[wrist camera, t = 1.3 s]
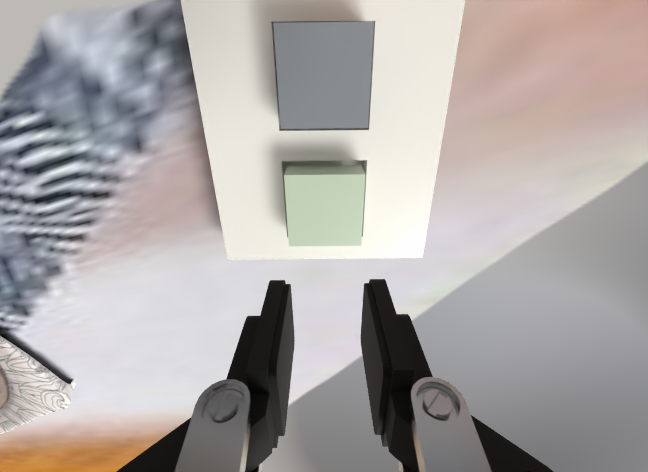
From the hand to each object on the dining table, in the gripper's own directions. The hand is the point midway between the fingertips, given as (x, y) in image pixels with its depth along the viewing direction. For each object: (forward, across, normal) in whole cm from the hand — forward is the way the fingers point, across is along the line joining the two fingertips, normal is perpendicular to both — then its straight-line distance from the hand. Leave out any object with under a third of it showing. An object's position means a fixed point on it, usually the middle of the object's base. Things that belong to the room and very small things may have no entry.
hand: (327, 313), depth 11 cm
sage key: (+12, 0, 0) cm, 12 cm away
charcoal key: (+12, 0, -8) cm, 15 cm away
